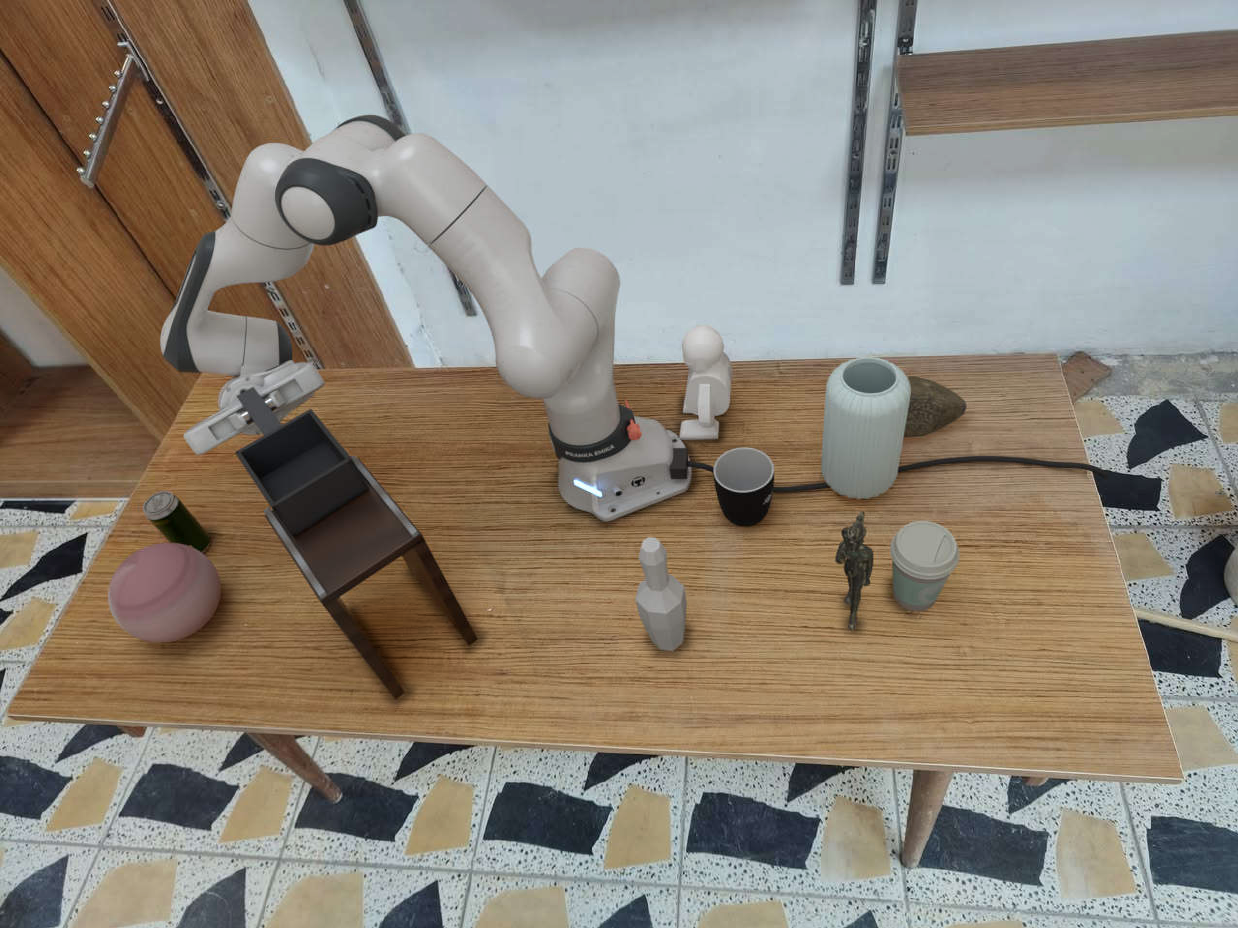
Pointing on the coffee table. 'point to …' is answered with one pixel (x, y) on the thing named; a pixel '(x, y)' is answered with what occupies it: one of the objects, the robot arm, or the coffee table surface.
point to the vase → (864, 426)
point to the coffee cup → (922, 563)
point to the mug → (744, 485)
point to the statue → (855, 564)
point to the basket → (298, 466)
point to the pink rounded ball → (164, 592)
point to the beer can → (176, 521)
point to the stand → (366, 562)
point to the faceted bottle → (660, 598)
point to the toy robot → (705, 382)
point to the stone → (931, 407)
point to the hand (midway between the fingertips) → (259, 411)
